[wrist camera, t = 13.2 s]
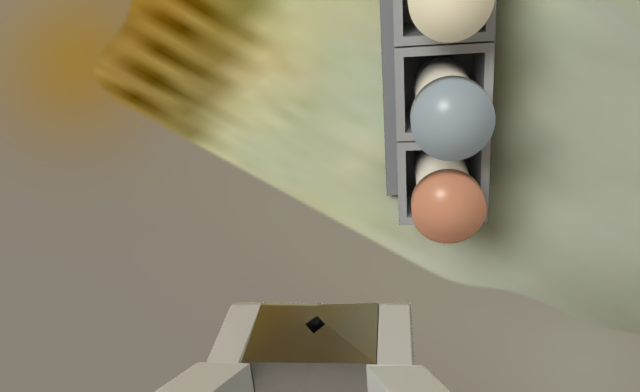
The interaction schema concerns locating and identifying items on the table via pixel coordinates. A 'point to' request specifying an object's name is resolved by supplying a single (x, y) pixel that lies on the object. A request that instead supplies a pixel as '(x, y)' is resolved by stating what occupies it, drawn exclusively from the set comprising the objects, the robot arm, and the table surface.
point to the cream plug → (449, 18)
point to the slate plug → (450, 111)
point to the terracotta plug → (446, 200)
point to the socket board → (398, 94)
